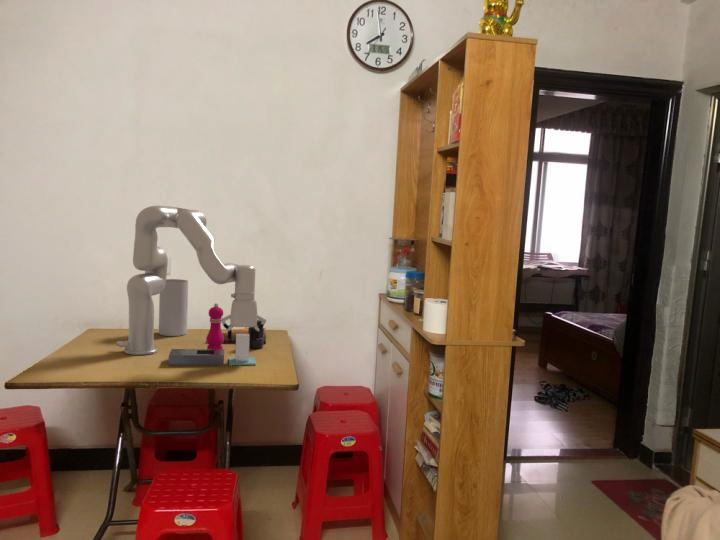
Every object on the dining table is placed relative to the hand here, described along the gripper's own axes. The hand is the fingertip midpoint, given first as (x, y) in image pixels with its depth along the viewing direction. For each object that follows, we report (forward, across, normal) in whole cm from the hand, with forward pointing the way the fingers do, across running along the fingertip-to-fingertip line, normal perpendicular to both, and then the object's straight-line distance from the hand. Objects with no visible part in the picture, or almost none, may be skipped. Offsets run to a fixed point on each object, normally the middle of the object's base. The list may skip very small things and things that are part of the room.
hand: (243, 340), depth 226 cm
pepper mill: (+9, -11, +20) cm, 24 cm away
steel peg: (+8, 0, 0) cm, 8 cm away
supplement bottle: (+9, +6, +25) cm, 27 cm away
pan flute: (+9, -1, +45) cm, 46 cm away
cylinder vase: (+9, -31, +52) cm, 61 cm away
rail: (+9, -17, 0) cm, 19 cm away
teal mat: (+9, 0, 0) cm, 9 cm away
